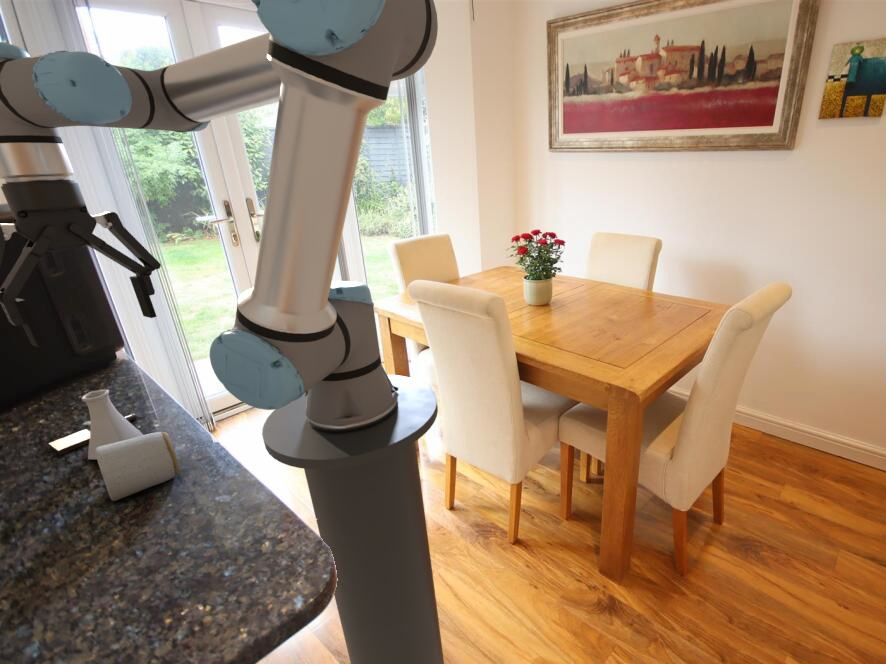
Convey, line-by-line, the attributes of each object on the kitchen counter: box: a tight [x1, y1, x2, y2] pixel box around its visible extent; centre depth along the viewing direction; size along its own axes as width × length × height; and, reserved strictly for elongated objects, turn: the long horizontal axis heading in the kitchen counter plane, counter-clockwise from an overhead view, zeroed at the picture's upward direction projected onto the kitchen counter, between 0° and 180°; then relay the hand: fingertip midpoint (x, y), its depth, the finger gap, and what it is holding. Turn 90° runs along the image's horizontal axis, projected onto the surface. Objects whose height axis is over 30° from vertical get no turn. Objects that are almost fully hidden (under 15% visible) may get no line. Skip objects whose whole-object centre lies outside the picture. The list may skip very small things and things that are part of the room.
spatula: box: [48, 413, 138, 456], centre depth 79 cm, size 12×4×1 cm, turn 149°
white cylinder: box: [96, 431, 181, 502], centre depth 66 cm, size 11×8×8 cm
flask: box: [81, 389, 144, 460], centre depth 73 cm, size 7×7×10 cm
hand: (98, 330), depth 69 cm, fingers open, 13 cm apart
